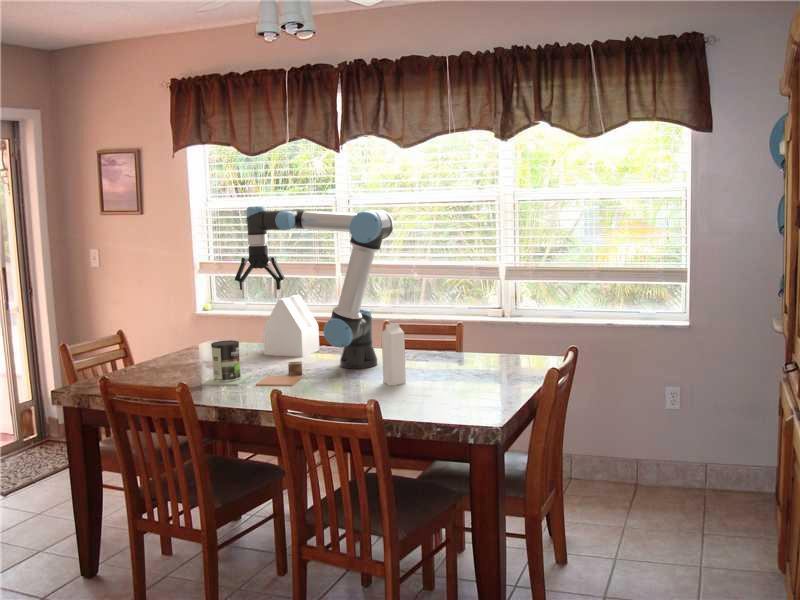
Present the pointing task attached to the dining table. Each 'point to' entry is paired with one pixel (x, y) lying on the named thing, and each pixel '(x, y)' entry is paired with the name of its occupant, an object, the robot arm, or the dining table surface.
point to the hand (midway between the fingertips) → (260, 297)
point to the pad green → (237, 382)
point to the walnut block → (295, 368)
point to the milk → (393, 355)
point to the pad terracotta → (279, 380)
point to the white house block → (291, 329)
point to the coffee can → (226, 361)
